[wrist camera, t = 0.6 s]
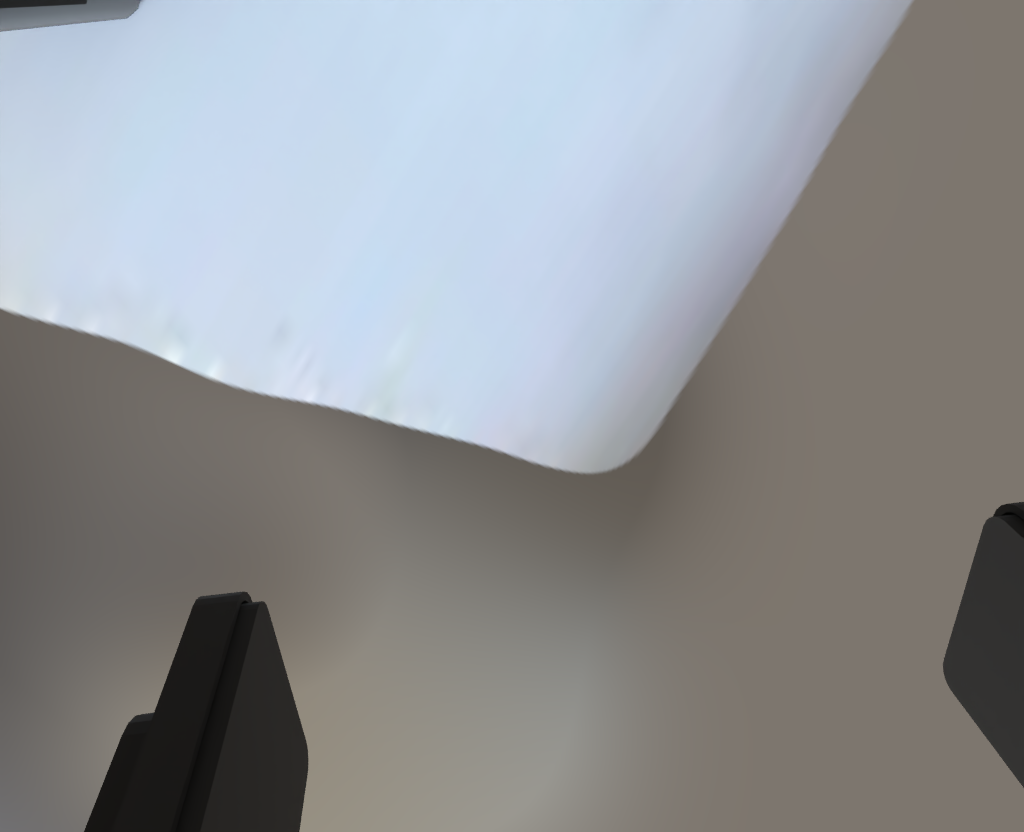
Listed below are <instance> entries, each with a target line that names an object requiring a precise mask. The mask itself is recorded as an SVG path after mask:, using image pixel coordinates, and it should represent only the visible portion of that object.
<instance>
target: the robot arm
mask: <svg viewBox="0 0 1024 832" xmlns="http://www.w3.org/2000/svg"><path fill="white" fill-rule="evenodd" d="M943 670H944V675H945V679H946V681H947V684H948V686H949V688H950V689H951V691H952V692H953V694H954V695H955V696H956V697H957V699H958V700H959V702H960V703H961V704H962V706H963V707H964V708H965V709H966V711H967V712H968V713H969V715H970V716H971V717H972V719H973V720H974V722H975V723H976V724H977V726H978V727H979V728H980V730H981V731H982V732H983V734H984V735H985V736H986V738H987V739H988V740H989V742H990V743H991V744H992V746H993V747H994V748H995V750H996V751H997V752H998V754H999V755H1000V757H1001V758H1002V759H1003V761H1004V762H1005V763H1006V765H1007V766H1008V767H1009V768H1010V770H1011V771H1012V772H1013V774H1014V775H1015V777H1016V778H1017V779H1018V781H1019V782H1020V783H1021V785H1022V786H1023V787H1024V502H1019V503H1011V504H1005V505H1001V506H1000V507H999V508H998V509H997V510H996V512H995V514H994V516H993V517H991V518H989V519H988V520H987V521H986V522H985V524H984V526H983V530H982V533H981V536H980V540H979V543H978V546H977V550H976V553H975V556H974V560H973V563H972V567H971V570H970V574H969V577H968V581H967V583H966V587H965V590H964V594H963V597H962V600H961V604H960V607H959V610H958V614H957V617H956V621H955V624H954V627H953V631H952V634H951V637H950V641H949V644H948V648H947V651H946V654H945V658H944V662H943ZM307 773H308V749H307V743H306V739H305V735H304V732H303V729H302V725H301V722H300V718H299V715H298V711H297V708H296V705H295V701H294V697H293V694H292V691H291V687H290V684H289V680H288V677H287V673H286V670H285V666H284V663H283V660H282V656H281V653H280V649H279V646H278V642H277V639H276V635H275V632H274V628H273V625H272V622H271V618H270V614H269V611H268V608H267V605H266V604H265V602H262V601H261V602H252V600H251V597H250V596H249V594H248V593H247V592H236V593H227V594H219V595H211V596H201V597H199V598H198V599H197V600H196V601H195V603H194V605H193V607H192V610H191V613H190V616H189V619H188V621H187V624H186V627H185V630H184V632H183V635H182V638H181V641H180V643H179V646H178V649H177V652H176V654H175V657H174V660H173V662H172V665H171V668H170V671H169V674H168V676H167V679H166V682H165V684H164V687H163V690H162V693H161V696H160V698H159V701H158V704H157V707H156V709H155V712H154V713H148V714H141V715H137V716H135V717H134V718H133V719H132V720H131V721H130V722H129V723H128V725H127V727H126V729H125V731H124V733H123V735H122V737H121V739H120V742H119V744H118V747H117V749H116V752H115V755H114V757H113V760H112V762H111V765H110V767H109V770H108V772H107V775H106V777H105V780H104V782H103V785H102V787H101V790H100V793H99V795H98V798H97V800H96V803H95V805H94V808H93V810H92V813H91V816H90V818H89V821H88V823H87V825H86V828H85V831H84V832H299V830H300V823H301V816H302V808H303V802H304V794H305V788H306V781H307Z"/></svg>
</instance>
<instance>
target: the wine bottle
mask: <svg viewBox="0 0 1024 832" xmlns="http://www.w3.org/2000/svg"><path fill="white" fill-rule="evenodd" d="M139 2H140V0H0V32H1V31H11V30H20V29H30V28H39V27H49V26H59V25H68V24H78V23H88V22H97V21H107V20H116V19H126V18H128V17H129V16H131V15H132V14H133V13H134V12H135V11H136V10H137V9H138V7H139Z"/></svg>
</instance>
